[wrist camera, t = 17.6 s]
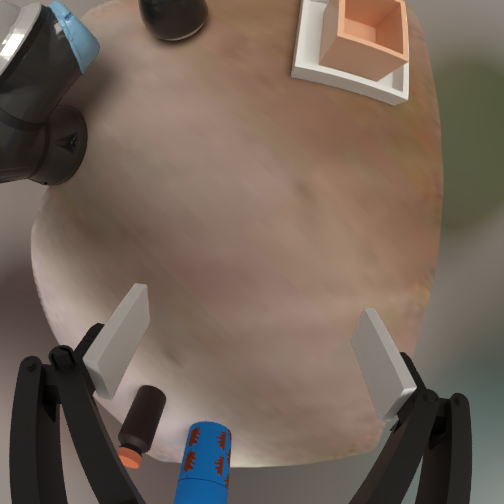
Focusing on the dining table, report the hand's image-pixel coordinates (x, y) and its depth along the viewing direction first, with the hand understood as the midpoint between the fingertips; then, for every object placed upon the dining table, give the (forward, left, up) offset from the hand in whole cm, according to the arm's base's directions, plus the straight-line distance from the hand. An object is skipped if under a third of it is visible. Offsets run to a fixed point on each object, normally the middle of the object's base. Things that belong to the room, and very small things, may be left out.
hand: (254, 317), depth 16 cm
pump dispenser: (-36, +11, -28) cm, 47 cm away
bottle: (+17, -42, -28) cm, 53 cm away
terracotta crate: (-16, +31, -27) cm, 44 cm away
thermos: (+35, -40, -28) cm, 60 cm away
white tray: (-16, +31, -28) cm, 45 cm away
